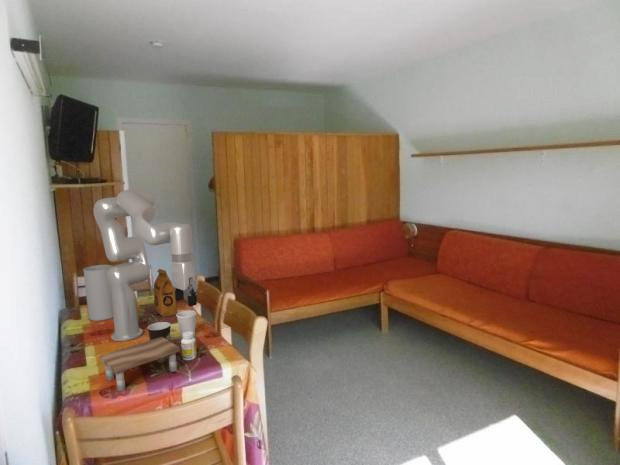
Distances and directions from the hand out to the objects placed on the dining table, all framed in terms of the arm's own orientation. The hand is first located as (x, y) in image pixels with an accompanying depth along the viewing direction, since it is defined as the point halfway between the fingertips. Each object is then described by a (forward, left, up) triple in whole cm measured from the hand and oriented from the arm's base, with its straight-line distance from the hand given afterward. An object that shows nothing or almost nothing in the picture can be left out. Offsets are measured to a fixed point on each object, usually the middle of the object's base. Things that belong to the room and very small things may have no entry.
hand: (186, 302), depth 152 cm
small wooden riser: (0, -18, -22) cm, 28 cm away
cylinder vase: (-74, -7, -22) cm, 78 cm away
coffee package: (-55, +17, -22) cm, 62 cm away
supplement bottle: (0, 0, -22) cm, 22 cm away
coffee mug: (-15, -3, -22) cm, 27 cm away
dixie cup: (-20, +10, -22) cm, 31 cm away
